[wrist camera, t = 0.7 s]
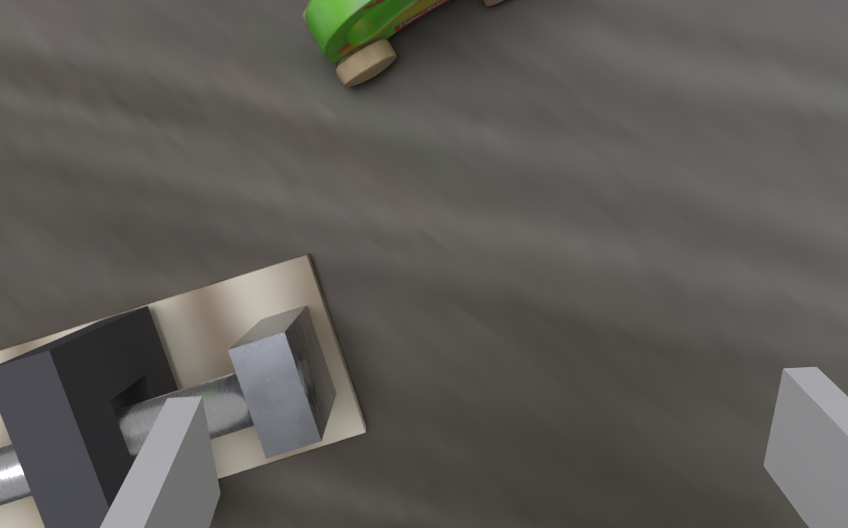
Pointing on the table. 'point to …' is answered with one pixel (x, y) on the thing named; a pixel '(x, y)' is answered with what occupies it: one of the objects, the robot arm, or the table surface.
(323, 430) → the pipe
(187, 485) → the robot arm
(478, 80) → the table surface
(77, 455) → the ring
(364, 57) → the toy lion
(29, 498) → the board
